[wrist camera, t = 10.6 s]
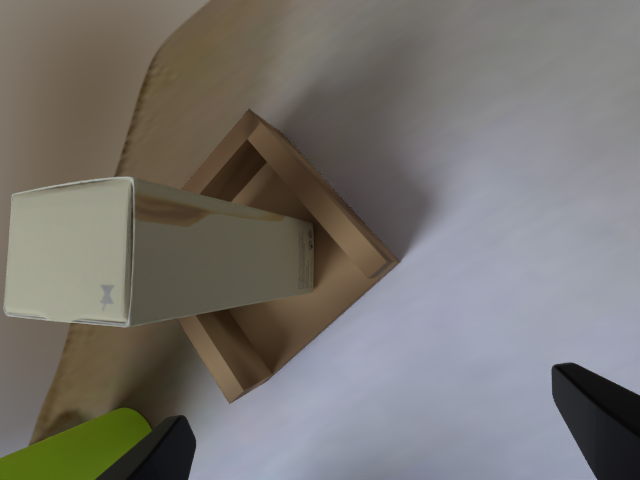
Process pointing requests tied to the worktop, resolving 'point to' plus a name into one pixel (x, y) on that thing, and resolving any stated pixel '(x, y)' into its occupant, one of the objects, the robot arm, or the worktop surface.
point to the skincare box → (146, 253)
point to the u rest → (329, 257)
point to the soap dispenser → (78, 449)
